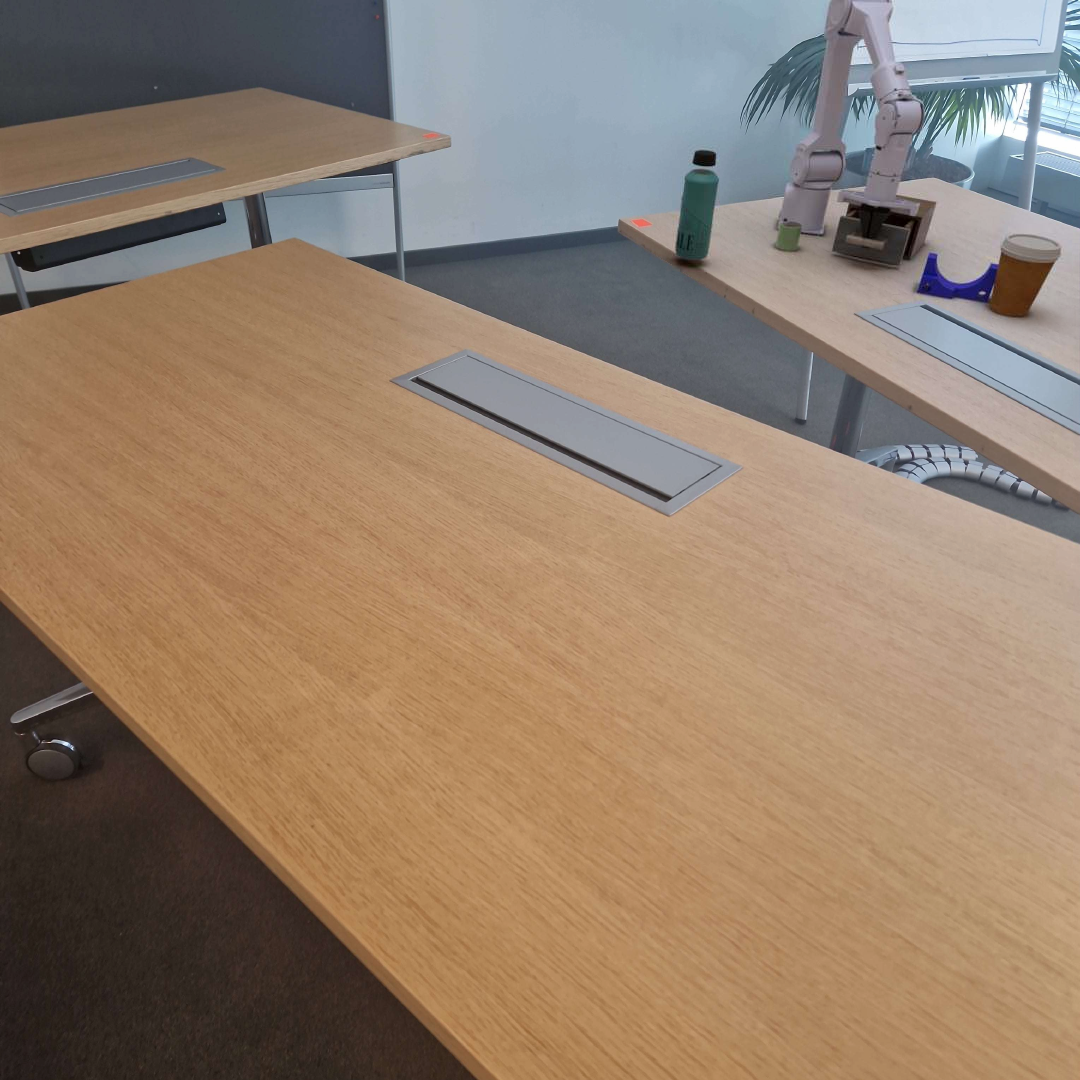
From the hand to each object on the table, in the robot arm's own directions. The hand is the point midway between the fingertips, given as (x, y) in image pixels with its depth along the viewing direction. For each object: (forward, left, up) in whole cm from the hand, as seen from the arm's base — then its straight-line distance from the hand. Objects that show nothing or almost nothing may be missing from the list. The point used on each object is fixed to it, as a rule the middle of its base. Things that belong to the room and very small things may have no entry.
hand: (866, 246), depth 169 cm
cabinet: (+4, +16, -4) cm, 16 cm away
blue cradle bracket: (+16, -10, -4) cm, 19 cm away
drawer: (+2, +6, -3) cm, 6 cm away
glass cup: (-15, +5, -4) cm, 16 cm away
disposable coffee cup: (+25, -14, -4) cm, 29 cm away
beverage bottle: (-32, -12, -4) cm, 34 cm away
